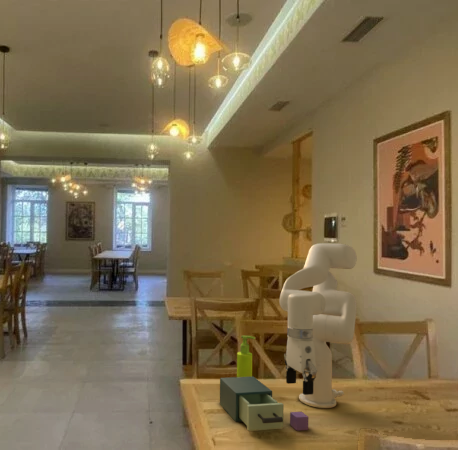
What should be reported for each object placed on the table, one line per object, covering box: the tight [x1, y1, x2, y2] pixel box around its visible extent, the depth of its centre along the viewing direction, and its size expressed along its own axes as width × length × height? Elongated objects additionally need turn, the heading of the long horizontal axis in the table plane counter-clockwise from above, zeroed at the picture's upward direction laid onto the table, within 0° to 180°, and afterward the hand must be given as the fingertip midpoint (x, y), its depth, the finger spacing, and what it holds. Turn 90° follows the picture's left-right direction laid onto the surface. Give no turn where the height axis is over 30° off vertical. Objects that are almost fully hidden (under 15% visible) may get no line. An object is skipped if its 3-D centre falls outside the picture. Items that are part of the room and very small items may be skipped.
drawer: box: [238, 394, 284, 432], centre depth 129 cm, size 18×11×7 cm, turn 12°
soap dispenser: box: [236, 335, 256, 377], centre depth 164 cm, size 6×7×20 cm
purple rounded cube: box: [289, 411, 309, 432], centre depth 129 cm, size 4×4×4 cm
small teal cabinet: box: [219, 375, 273, 423], centre depth 140 cm, size 15×13×9 cm
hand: (299, 388), depth 129 cm, fingers open, 9 cm apart
